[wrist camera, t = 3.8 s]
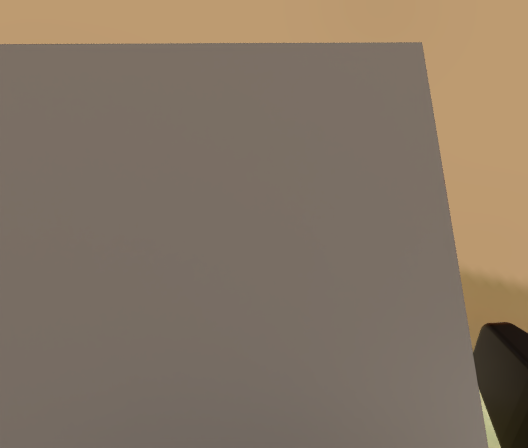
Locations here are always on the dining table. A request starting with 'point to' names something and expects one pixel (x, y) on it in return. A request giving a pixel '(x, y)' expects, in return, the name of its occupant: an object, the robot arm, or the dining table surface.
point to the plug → (228, 250)
